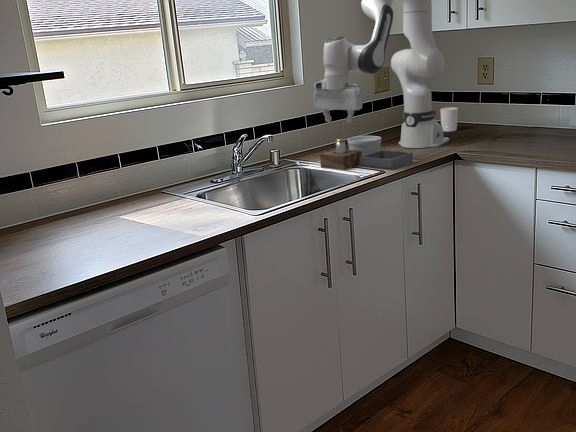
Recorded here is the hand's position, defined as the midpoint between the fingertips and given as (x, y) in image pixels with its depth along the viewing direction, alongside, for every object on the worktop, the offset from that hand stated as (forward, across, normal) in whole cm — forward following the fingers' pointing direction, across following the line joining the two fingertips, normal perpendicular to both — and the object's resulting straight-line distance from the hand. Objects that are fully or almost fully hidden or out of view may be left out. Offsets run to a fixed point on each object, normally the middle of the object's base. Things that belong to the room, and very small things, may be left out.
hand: (338, 121), depth 232 cm
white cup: (+15, 0, -80) cm, 82 cm away
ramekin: (+16, +3, -20) cm, 26 cm away
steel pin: (+16, 0, 0) cm, 17 cm away
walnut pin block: (+16, 0, 0) cm, 17 cm away
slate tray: (+16, -14, -10) cm, 24 cm away
